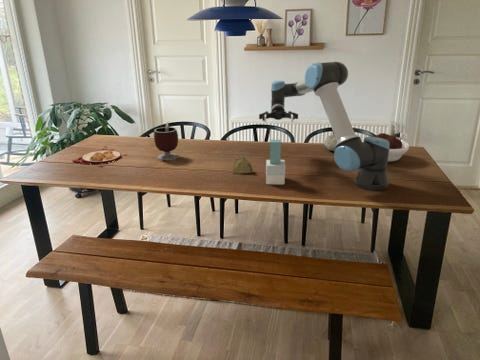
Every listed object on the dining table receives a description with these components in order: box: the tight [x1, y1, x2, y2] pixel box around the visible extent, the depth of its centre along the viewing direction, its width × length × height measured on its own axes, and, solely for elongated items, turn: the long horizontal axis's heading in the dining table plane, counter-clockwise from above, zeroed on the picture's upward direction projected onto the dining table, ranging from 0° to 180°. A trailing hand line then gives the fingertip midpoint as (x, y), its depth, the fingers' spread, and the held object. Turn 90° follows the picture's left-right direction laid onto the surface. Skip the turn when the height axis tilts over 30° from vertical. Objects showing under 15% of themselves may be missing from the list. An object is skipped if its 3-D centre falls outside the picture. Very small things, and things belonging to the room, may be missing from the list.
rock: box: [231, 153, 254, 175], centre depth 202 cm, size 11×9×10 cm
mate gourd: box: [153, 121, 179, 161], centre depth 226 cm, size 16×14×20 cm
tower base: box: [265, 172, 286, 185], centre depth 190 cm, size 9×9×5 cm
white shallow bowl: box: [362, 132, 410, 162], centre depth 218 cm, size 25×25×15 cm
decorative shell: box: [323, 133, 337, 152], centre depth 236 cm, size 18×18×10 cm
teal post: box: [269, 138, 282, 164], centre depth 186 cm, size 5×5×11 cm
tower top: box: [265, 159, 286, 176], centre depth 188 cm, size 9×9×5 cm
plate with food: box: [71, 146, 127, 168], centre depth 229 cm, size 24×26×3 cm
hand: (278, 119), depth 192 cm, fingers open, 13 cm apart
